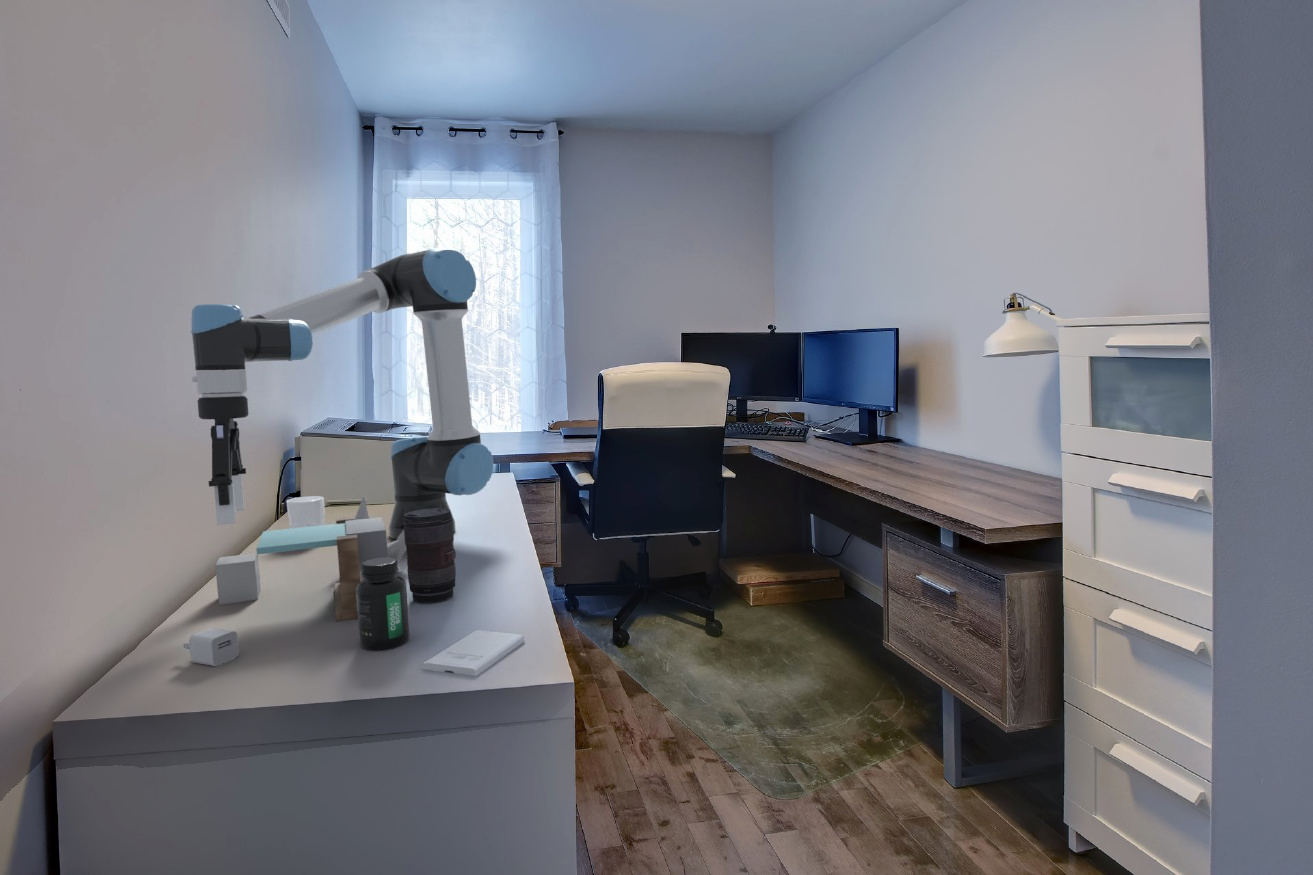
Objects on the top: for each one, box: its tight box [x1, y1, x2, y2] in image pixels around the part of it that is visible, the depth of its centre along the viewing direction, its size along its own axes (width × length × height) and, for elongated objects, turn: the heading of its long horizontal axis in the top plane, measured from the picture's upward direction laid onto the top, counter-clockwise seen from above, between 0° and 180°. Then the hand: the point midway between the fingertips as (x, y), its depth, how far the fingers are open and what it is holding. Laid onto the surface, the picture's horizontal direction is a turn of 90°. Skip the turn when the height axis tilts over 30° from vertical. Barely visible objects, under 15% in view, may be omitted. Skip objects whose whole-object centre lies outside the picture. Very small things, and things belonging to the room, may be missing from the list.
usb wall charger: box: [182, 627, 240, 667], centre depth 107 cm, size 4×7×4 cm, turn 67°
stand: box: [334, 516, 364, 622], centre depth 130 cm, size 5×19×13 cm, turn 23°
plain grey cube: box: [215, 552, 262, 606], centre depth 136 cm, size 6×6×7 cm
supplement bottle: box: [356, 558, 410, 651], centre depth 111 cm, size 7×7×12 cm
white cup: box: [286, 495, 325, 529], centre depth 178 cm, size 8×8×10 cm
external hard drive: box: [422, 629, 525, 677], centre depth 106 cm, size 2×8×12 cm
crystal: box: [354, 496, 407, 580], centre depth 150 cm, size 10×13×15 cm
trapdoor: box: [255, 516, 388, 563], centre depth 129 cm, size 19×13×5 cm
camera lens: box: [404, 508, 457, 604], centre depth 132 cm, size 8×8×15 cm
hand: (231, 517), depth 134 cm, fingers open, 13 cm apart
